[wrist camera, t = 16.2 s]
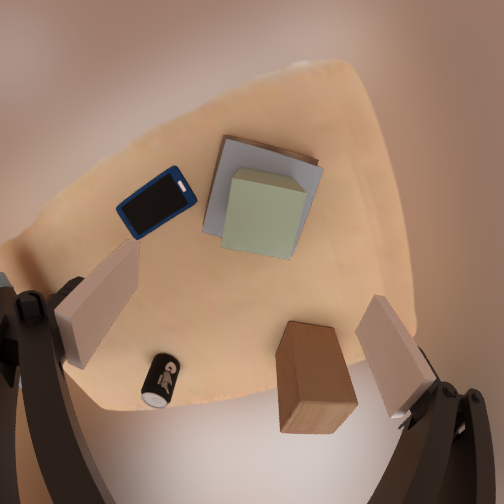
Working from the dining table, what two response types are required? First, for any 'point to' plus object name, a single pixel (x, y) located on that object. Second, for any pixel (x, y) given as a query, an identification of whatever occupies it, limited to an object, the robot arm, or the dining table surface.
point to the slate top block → (259, 160)
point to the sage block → (263, 213)
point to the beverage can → (160, 382)
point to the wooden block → (312, 381)
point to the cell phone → (156, 203)
